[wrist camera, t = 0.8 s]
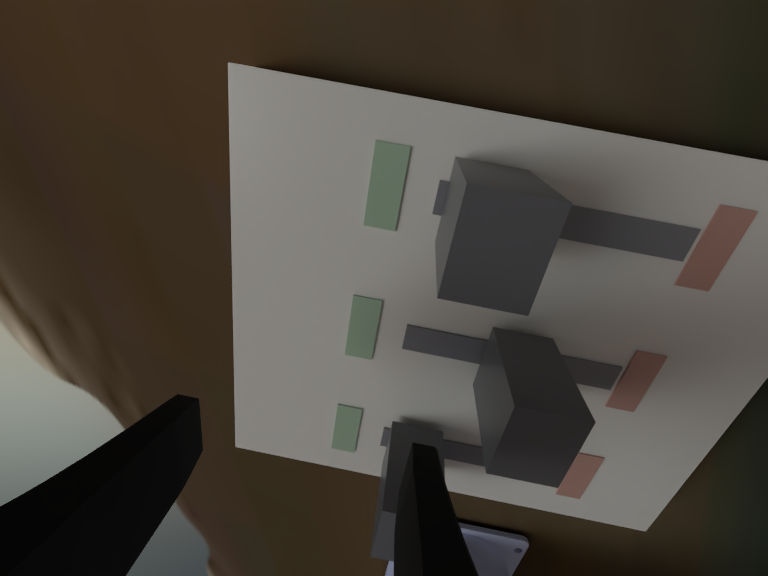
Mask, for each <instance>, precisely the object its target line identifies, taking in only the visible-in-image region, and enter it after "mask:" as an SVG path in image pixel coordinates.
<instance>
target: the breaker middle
mask: <svg viewBox="0 0 768 576" xmlns="http://www.w3.org/2000/svg"><path fill="white" fill-rule="evenodd" d="M473 389H474V396H475V403H476V410H477V416H478V423H479V430H480V436H481V443H482V450H483V457H484V463H485V470H486V474H491V475H496V476H501V477H506V478H511V479H516V480H521V481H525V482H530V483H535V484H540V485H545V486H550V487H555V488H559V486H560V484H561V483H562V481H563V479H564V477H565V476H566V474H567V472H568V470H569V469H570V467H571V465H572V463H573V462H574V460H575V458H576V456H577V455H578V453H579V451H580V449H581V448H582V446H583V444H584V442H585V441H586V439H587V437H588V435H589V434H590V432H591V430H592V428H593V426H594V425H595V423H596V422H595V420H594V418H593V416H592V414H591V412H590V410H589V408H588V406H587V404H586V402H585V400H584V398H583V396H582V394H581V392H580V390H579V389H578V387H577V385H576V383H575V381H574V379H573V377H572V375H571V373H570V371H569V369H568V367H567V365H566V363H565V361H564V359H563V357H562V355H561V353H560V351H559V349H558V347H557V345H556V343H555V341H554V340H553V338H548V337H543V336H538V335H532V334H527V333H522V332H517V331H512V330H507V329H502V328H497V327H493V328H492V331H491V334H490V337H489V339H488V342H487V345H486V348H485V351H484V354H483V357H482V360H481V362H480V365H479V368H478V371H477V374H476V377H475V380H474V383H473Z"/></svg>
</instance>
